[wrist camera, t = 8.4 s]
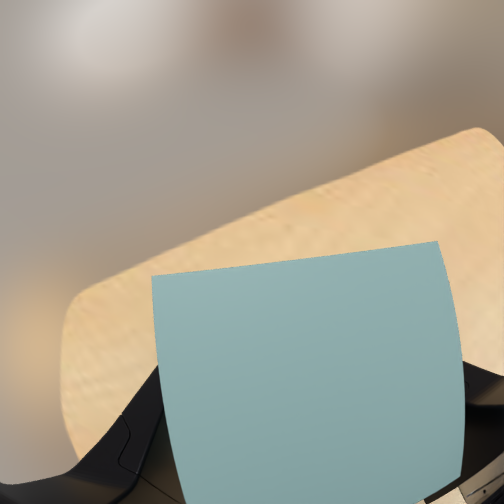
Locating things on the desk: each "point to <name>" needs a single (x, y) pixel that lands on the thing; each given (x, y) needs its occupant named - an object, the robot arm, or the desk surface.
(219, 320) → the pillar block
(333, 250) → the desk surface
